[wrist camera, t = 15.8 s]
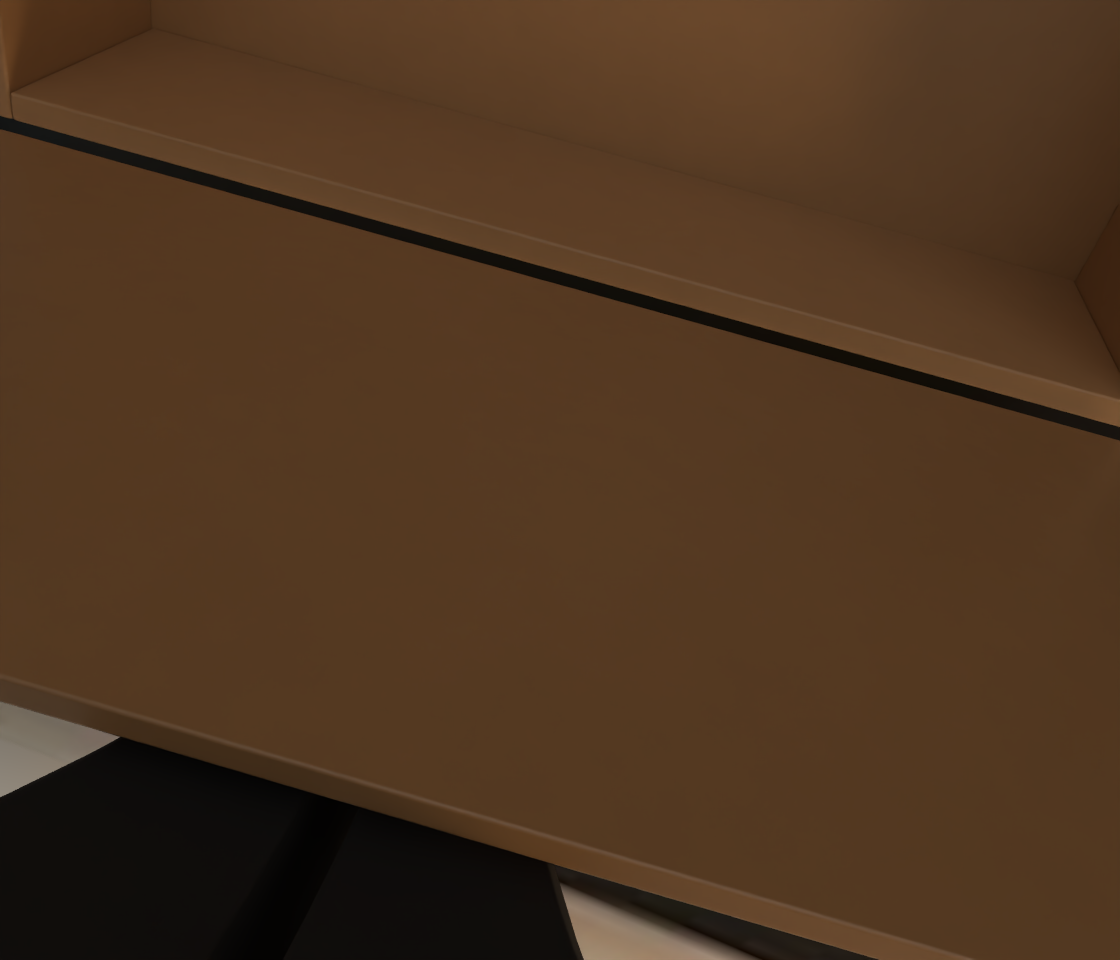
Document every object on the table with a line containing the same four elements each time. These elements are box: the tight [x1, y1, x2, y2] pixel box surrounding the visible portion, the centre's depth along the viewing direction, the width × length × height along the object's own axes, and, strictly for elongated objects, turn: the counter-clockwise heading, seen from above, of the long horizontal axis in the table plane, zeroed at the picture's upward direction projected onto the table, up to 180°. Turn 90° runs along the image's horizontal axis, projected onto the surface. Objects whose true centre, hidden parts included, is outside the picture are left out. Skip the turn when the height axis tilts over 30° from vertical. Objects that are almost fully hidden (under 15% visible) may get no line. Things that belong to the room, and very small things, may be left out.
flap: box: [0, 129, 1120, 960], centre depth 10 cm, size 8×17×1 cm
